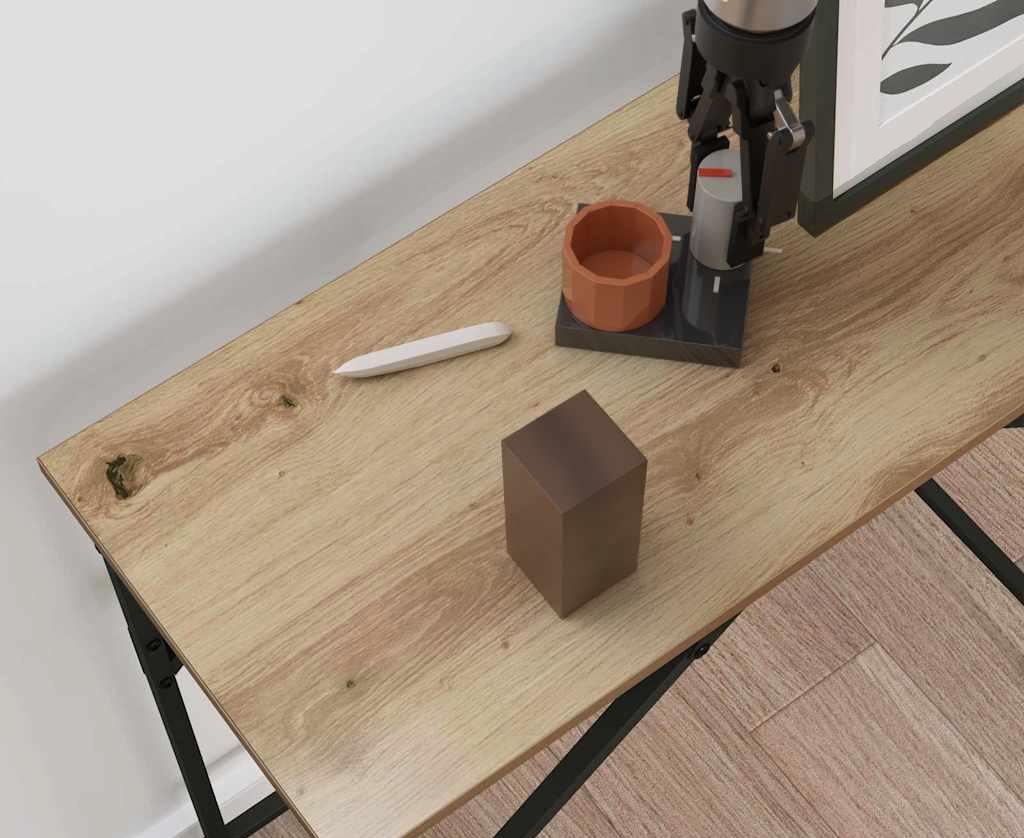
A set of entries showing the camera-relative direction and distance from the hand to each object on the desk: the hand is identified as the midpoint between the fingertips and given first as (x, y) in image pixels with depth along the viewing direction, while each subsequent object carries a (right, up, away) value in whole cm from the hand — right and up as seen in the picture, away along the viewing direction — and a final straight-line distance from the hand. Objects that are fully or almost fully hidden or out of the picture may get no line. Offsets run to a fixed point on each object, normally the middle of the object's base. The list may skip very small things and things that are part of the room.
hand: (724, 229), depth 122 cm
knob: (0, -1, +2) cm, 2 cm away
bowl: (-8, -5, 0) cm, 9 cm away
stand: (-12, -25, -9) cm, 29 cm away
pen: (-23, -10, 0) cm, 25 cm away
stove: (-4, -4, +3) cm, 6 cm away
